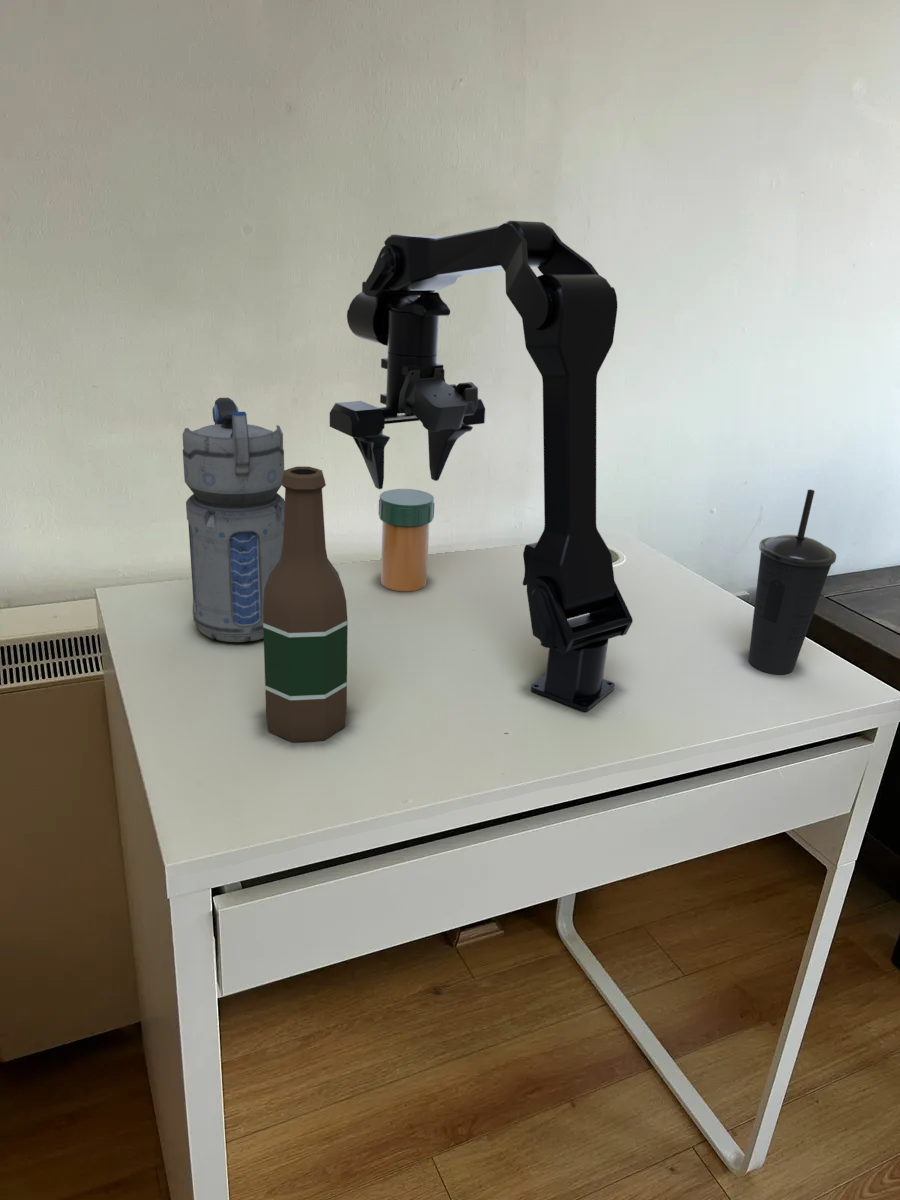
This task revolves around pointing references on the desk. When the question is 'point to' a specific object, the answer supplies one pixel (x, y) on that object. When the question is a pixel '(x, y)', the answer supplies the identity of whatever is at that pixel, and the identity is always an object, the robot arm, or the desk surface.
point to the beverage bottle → (233, 520)
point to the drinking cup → (787, 596)
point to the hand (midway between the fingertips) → (407, 484)
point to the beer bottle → (305, 622)
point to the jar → (404, 557)
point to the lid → (406, 507)
